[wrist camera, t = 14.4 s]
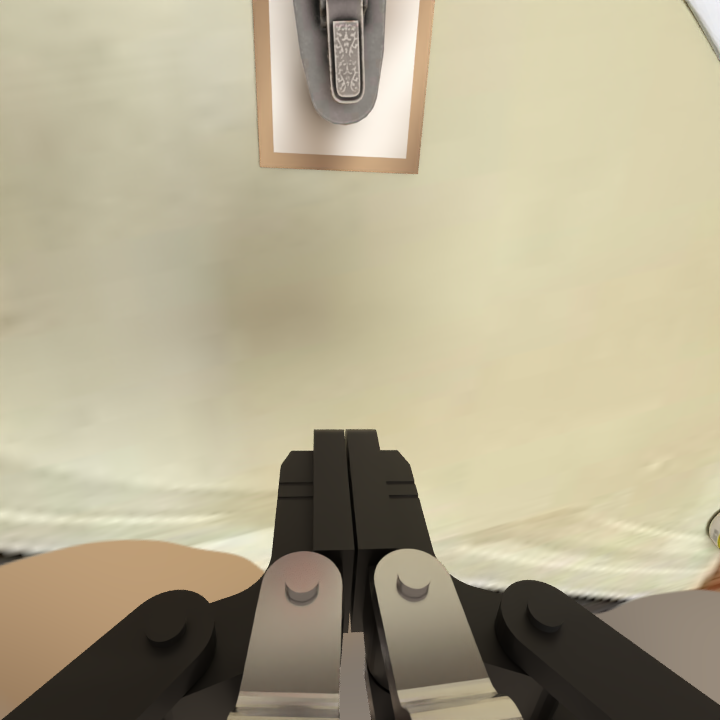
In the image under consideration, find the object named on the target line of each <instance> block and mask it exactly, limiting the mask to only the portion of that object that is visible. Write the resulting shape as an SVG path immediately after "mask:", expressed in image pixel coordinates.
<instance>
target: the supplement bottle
mask: <svg viewBox="0 0 720 720" xmlns="http://www.w3.org/2000/svg"><path fill="white" fill-rule="evenodd" d="M709 535H710V538H711V539H712V541H713V542H714V543H715V544H716V545H717V546H718V547H719V548H720V513H718V514H717V515H716V516H715V518H714V519H713V520H712V522H711V524H710V527H709Z"/></svg>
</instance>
